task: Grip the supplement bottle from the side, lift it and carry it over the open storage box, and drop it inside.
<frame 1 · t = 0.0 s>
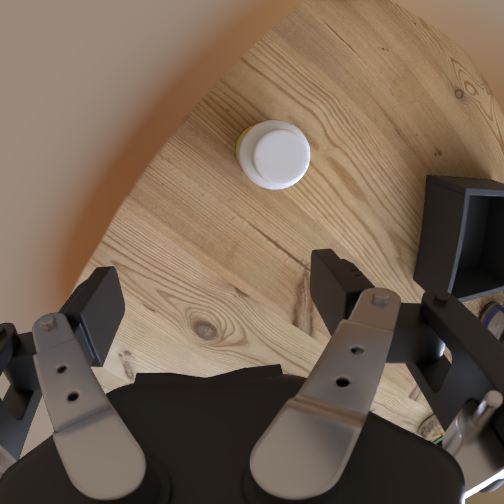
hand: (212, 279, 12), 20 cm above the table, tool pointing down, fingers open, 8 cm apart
open storage box: (458, 227, 36), on the table
cake: (433, 421, 57), on the table
pill bottle: (486, 313, 44), on the table
supplement bottle: (261, 149, 30), on the table
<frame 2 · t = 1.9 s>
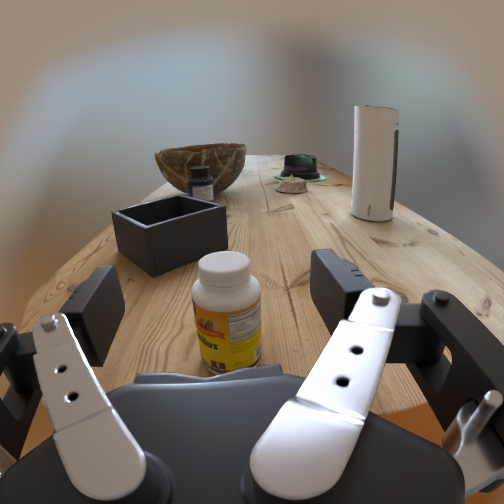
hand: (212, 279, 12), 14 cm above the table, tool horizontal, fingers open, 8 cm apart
open storage box: (170, 249, 52), on the table
cake: (291, 190, 94), on the table
speaker: (371, 216, 68), on the table
pill bottle: (202, 212, 74), on the table
supplement bottle: (232, 360, 27), on the table
bowl: (202, 194, 92), on the table
fedora hat: (300, 177, 116), on the table
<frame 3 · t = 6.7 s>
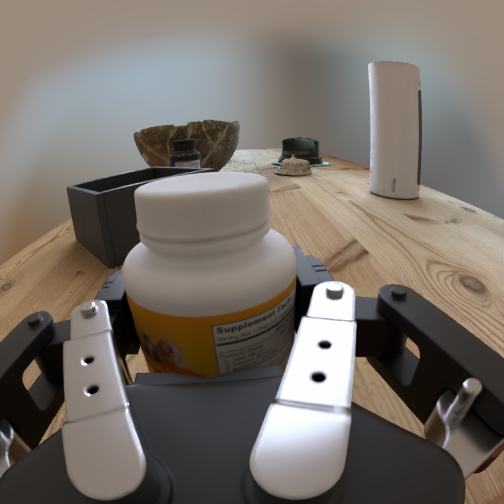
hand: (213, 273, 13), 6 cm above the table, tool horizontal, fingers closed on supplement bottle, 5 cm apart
open storage box: (141, 234, 37), on the table
cake: (293, 174, 80), on the table
speaker: (393, 194, 54), on the table
pill bottle: (188, 195, 59), on the table
supplement bottle: (229, 414, 13), on the table, touching gripper
bowl: (189, 180, 78), on the table
fedora hat: (300, 163, 103), on the table
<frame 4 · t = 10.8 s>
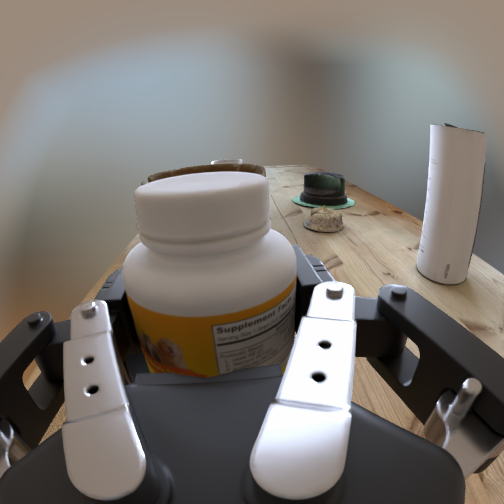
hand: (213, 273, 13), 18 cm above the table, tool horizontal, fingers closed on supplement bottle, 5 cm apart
open storage box: (180, 374, 30), on the table
cake: (323, 226, 73), on the table
speaker: (441, 273, 47), on the table
planter: (228, 187, 123), on the table
supplement bottle: (229, 414, 13), point 12 cm above the table, touching gripper
bowl: (208, 235, 70), on the table
fedora hat: (323, 201, 95), on the table
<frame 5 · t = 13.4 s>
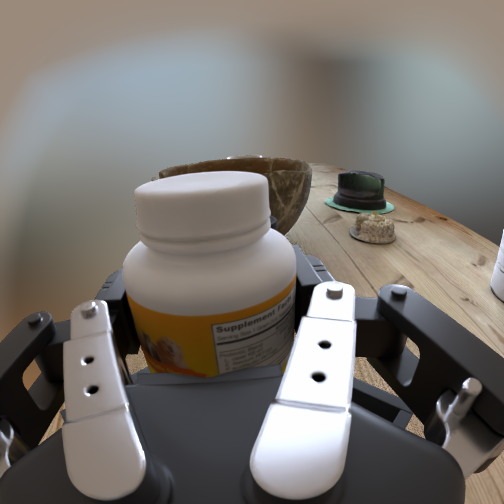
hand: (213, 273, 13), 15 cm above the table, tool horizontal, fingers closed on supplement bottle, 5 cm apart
open storage box: (240, 482, 16), on the table
cake: (372, 236, 59), on the table
supplement bottle: (229, 414, 13), point 9 cm above the table, touching gripper
bowl: (235, 246, 56), on the table
fedora hat: (359, 204, 81), on the table
when the fingers open (11 cm above the table, at t = 15.2 s): supplement bottle drops 3 cm, resting on open storage box.
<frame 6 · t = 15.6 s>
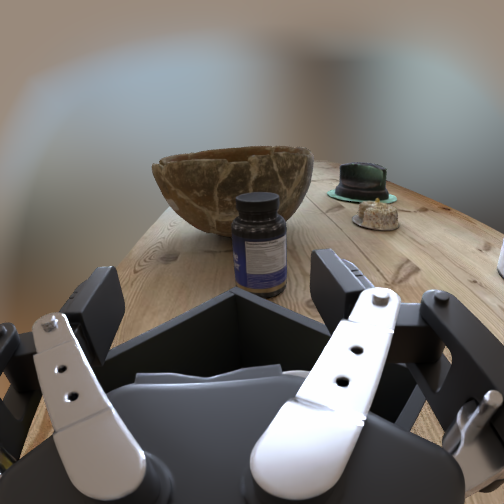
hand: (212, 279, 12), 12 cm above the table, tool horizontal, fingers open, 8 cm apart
open storage box: (242, 469, 15), on the table
cake: (375, 223, 57), on the table
pill bottle: (261, 288, 37), on the table
bowl: (237, 234, 55), on the table
fedora hat: (362, 196, 80), on the table
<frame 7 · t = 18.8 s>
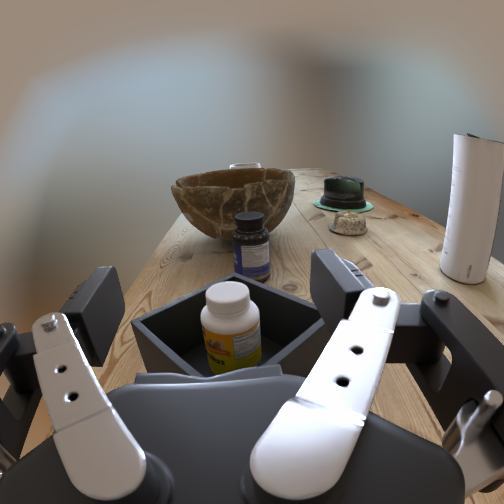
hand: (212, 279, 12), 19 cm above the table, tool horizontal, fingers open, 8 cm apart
open storage box: (236, 374, 31), on the table
cake: (347, 229, 74), on the table
speaker: (462, 273, 48), on the table
planter: (246, 191, 125), on the table
pill bottle: (253, 277, 53), on the table
supplement bottle: (236, 373, 31), resting on open storage box
bowl: (237, 239, 72), on the table
fedora hat: (343, 205, 96), on the table
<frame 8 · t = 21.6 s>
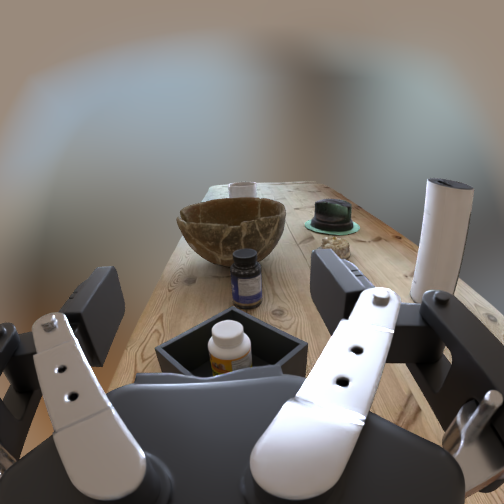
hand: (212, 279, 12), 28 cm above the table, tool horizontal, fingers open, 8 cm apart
open storage box: (234, 385, 41), on the table
cake: (333, 254, 84), on the table
speaker: (430, 299, 58), on the table
planter: (243, 208, 135), on the table
pill bottle: (247, 302, 63), on the table
supplement bottle: (234, 384, 41), resting on open storage box
bowl: (234, 263, 81), on the table
fedora hat: (332, 226, 107), on the table
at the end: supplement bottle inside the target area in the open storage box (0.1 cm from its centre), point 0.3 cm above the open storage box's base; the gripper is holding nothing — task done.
